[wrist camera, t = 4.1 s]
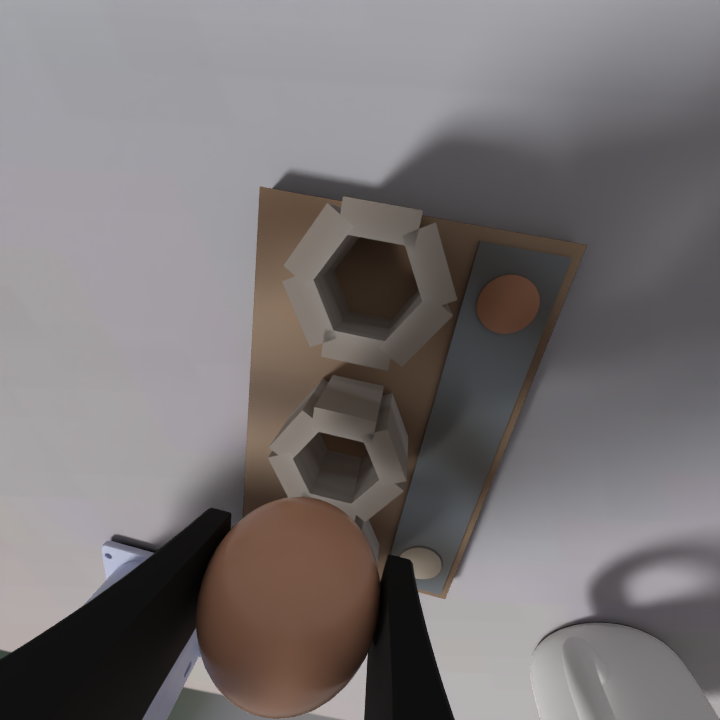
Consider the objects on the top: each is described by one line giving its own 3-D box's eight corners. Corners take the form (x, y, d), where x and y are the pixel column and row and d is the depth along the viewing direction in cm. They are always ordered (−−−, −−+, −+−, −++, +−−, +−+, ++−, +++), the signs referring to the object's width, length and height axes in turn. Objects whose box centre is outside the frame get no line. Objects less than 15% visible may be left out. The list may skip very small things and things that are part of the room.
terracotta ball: (373, 587, 11) (348, 790, 7) (246, 553, 12) (154, 728, 8) (401, 483, 10) (391, 669, 6) (253, 447, 10) (140, 597, 6)
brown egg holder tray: (443, 582, 20) (450, 662, 16) (249, 530, 21) (213, 595, 17) (574, 244, 13) (639, 248, 9) (270, 189, 14) (216, 174, 10)
